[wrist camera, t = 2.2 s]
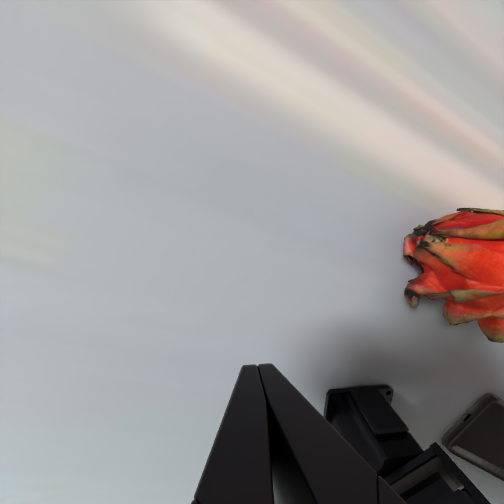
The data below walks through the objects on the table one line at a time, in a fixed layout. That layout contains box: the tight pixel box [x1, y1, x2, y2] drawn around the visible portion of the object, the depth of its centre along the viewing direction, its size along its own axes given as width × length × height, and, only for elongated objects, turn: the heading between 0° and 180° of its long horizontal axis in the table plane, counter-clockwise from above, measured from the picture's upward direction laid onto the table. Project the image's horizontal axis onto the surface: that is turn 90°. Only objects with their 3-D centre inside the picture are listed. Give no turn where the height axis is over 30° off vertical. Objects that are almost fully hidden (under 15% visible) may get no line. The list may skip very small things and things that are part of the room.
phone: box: [442, 394, 504, 481], centre depth 28 cm, size 8×1×15 cm
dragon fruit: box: [403, 208, 504, 343], centre depth 17 cm, size 8×8×12 cm
